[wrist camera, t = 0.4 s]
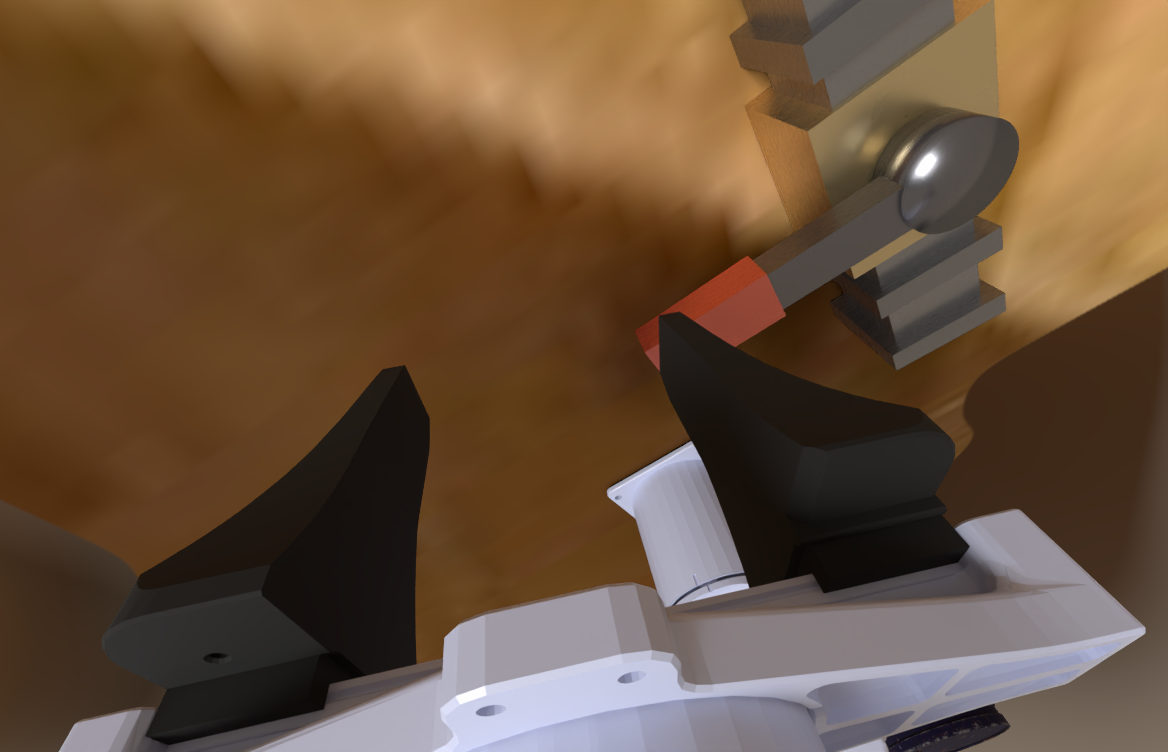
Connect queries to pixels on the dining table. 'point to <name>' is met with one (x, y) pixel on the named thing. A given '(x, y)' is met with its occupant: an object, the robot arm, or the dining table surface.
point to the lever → (861, 222)
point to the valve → (876, 145)
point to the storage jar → (951, 732)
